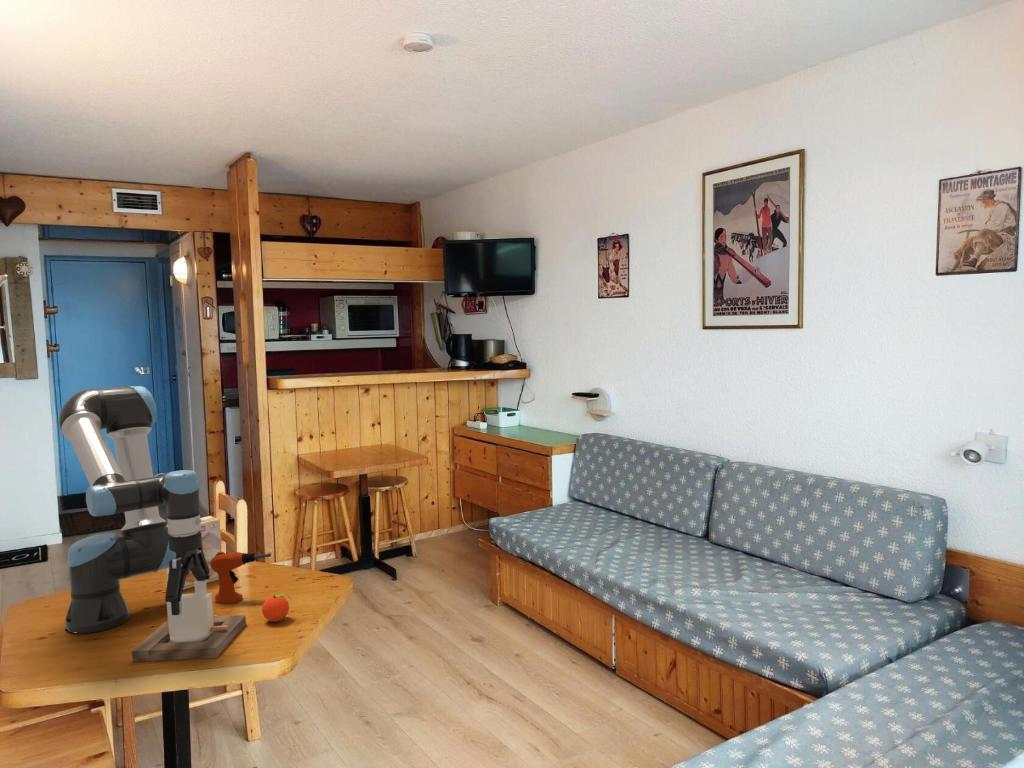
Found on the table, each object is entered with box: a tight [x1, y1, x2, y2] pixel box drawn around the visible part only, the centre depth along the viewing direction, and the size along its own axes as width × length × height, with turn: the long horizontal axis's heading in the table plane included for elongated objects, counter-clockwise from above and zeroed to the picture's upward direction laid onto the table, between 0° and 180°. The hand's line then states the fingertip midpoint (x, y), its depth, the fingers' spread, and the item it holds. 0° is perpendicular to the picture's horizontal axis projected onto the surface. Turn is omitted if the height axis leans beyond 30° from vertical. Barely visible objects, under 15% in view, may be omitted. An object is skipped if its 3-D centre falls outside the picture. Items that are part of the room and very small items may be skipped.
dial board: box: [131, 614, 247, 662], centre depth 183 cm, size 20×20×3 cm
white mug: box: [166, 592, 228, 643], centre depth 182 cm, size 14×10×11 cm
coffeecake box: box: [165, 515, 222, 591], centre depth 227 cm, size 15×7×20 cm, turn 139°
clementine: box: [261, 593, 291, 623], centre depth 195 cm, size 8×7×7 cm
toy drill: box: [210, 551, 272, 604], centre depth 210 cm, size 5×19×15 cm, turn 86°
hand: (190, 615), depth 182 cm, fingers open, 13 cm apart
